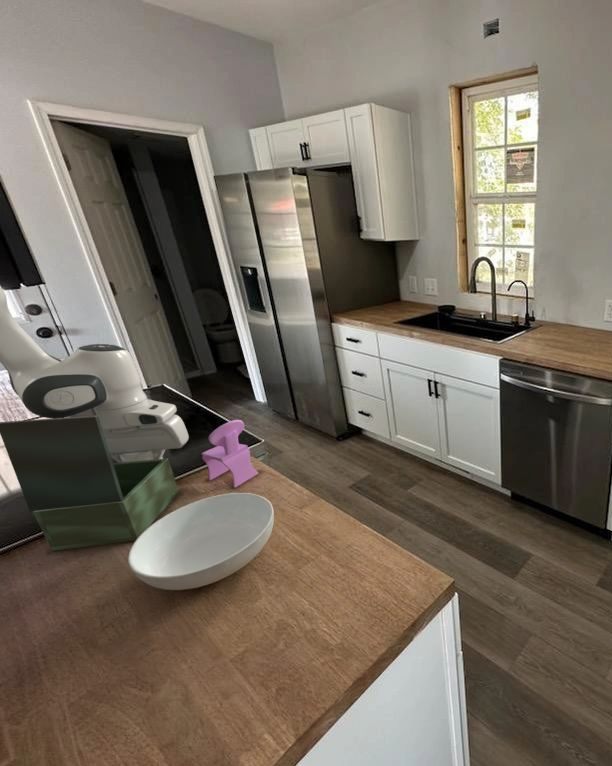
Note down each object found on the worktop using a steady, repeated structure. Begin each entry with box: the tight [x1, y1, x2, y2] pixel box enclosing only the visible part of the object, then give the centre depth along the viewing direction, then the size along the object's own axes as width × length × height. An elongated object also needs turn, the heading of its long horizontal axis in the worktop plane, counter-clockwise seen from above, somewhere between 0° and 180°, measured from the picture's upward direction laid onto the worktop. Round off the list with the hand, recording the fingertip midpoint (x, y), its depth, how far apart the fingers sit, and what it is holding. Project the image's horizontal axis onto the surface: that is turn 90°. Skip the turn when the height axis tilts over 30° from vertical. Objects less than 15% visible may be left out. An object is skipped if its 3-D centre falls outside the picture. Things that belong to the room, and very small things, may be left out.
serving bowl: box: [127, 492, 275, 591], centre depth 74 cm, size 21×21×7 cm
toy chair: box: [201, 419, 259, 488], centre depth 96 cm, size 8×9×15 cm
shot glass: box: [119, 451, 157, 462], centre depth 98 cm, size 7×7×7 cm
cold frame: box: [32, 457, 180, 552], centre depth 83 cm, size 16×14×9 cm
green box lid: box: [0, 415, 124, 512], centre depth 72 cm, size 17×14×1 cm
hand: (144, 465), depth 98 cm, fingers closed on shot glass, 5 cm apart
